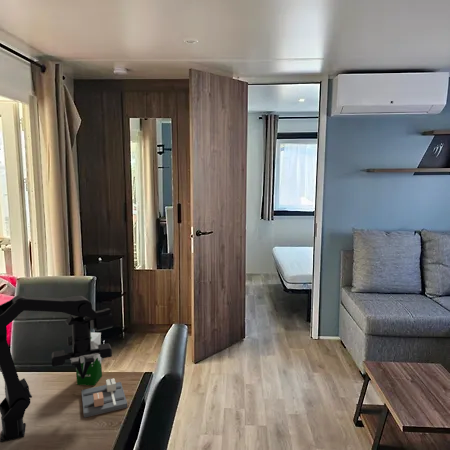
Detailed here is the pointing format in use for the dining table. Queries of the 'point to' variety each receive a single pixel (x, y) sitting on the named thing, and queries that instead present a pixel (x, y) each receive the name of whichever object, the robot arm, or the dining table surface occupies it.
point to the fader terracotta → (98, 399)
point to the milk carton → (95, 367)
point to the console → (111, 400)
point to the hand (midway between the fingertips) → (82, 378)
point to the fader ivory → (110, 385)
